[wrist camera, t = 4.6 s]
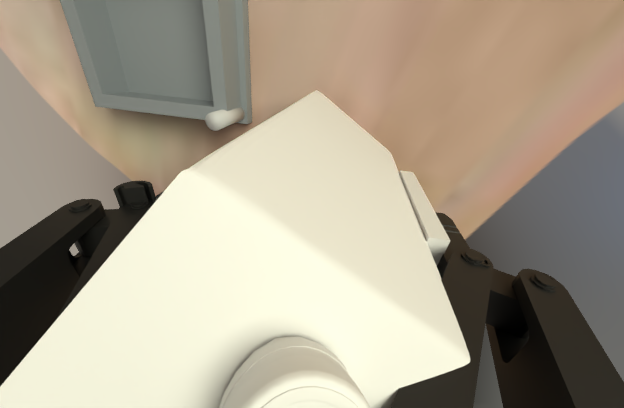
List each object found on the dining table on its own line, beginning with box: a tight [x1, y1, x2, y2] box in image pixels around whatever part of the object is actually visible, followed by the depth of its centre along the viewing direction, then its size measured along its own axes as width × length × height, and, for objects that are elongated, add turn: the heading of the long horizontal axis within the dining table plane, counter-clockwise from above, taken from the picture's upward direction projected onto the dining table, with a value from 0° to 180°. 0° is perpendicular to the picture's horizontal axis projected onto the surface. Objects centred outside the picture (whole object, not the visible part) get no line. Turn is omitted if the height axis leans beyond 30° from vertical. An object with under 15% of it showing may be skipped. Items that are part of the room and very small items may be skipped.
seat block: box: [60, 0, 252, 131], centre depth 17 cm, size 12×12×5 cm
